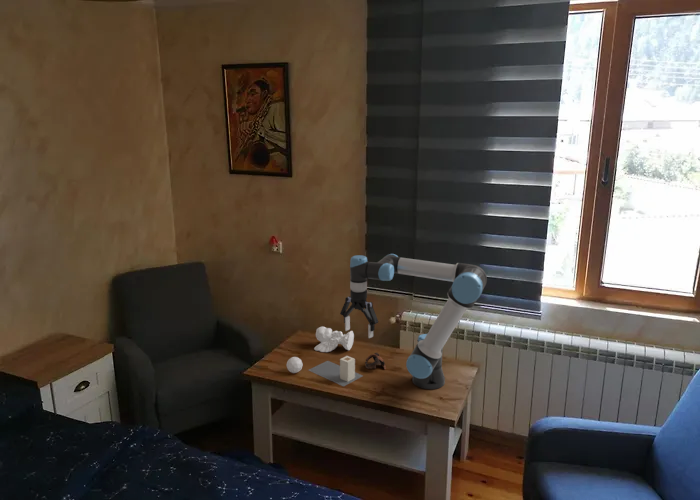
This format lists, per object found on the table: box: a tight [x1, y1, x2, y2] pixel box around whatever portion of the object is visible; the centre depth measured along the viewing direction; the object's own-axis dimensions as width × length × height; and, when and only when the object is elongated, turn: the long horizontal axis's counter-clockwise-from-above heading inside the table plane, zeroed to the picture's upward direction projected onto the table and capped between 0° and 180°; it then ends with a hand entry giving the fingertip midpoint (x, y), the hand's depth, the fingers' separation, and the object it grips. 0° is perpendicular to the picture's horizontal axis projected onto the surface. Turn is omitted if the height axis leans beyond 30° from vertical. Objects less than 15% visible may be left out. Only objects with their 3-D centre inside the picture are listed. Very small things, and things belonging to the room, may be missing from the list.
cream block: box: [339, 355, 356, 382], centre depth 257 cm, size 5×5×10 cm
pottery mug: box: [364, 352, 387, 370], centre depth 270 cm, size 12×10×8 cm
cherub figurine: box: [313, 325, 355, 353], centre depth 290 cm, size 13×12×20 cm
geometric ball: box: [286, 356, 303, 374], centre depth 265 cm, size 8×8×8 cm
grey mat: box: [308, 360, 364, 387], centre depth 264 cm, size 24×14×1 cm, turn 48°
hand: (359, 333), depth 250 cm, fingers open, 13 cm apart
